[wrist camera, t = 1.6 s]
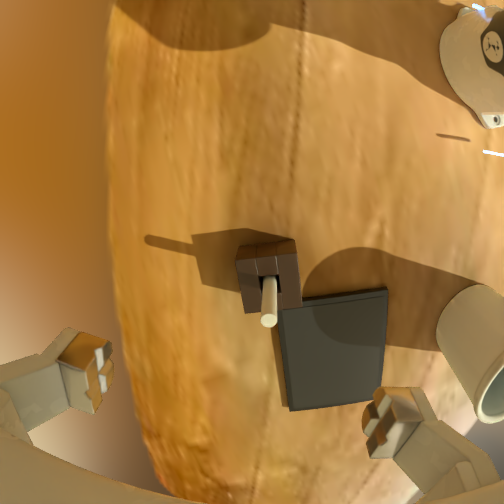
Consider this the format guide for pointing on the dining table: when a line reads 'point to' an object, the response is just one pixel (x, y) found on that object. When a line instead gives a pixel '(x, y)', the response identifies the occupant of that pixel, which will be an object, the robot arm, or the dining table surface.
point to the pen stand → (269, 263)
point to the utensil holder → (476, 347)
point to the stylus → (269, 301)
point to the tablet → (334, 348)
